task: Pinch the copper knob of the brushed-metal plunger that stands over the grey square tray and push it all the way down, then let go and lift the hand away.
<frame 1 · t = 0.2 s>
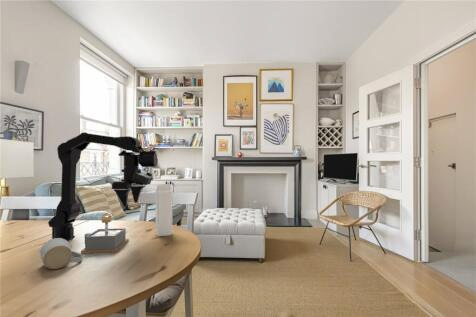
hand: (130, 204, 102), 14 cm above the table, fingers open, 9 cm apart
milk: (163, 234, 109), on the table
grey square tray: (106, 247, 92), on the table
ceramic mug: (61, 265, 77), on the table
plunger: (106, 225, 92), point 8 cm above the table, slide at 0.0 cm
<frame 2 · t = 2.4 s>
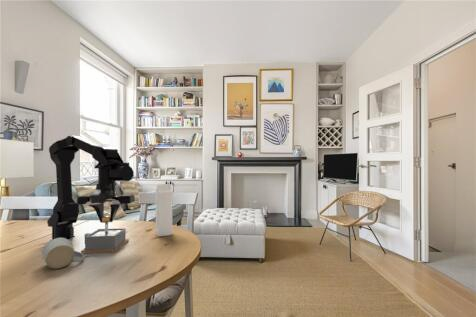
hand: (106, 222, 92), 9 cm above the table, fingers closed on plunger, 3 cm apart
plunger: (106, 225, 92), point 8 cm above the table, slide at 0.0 cm, touching gripper
everything else where it was.
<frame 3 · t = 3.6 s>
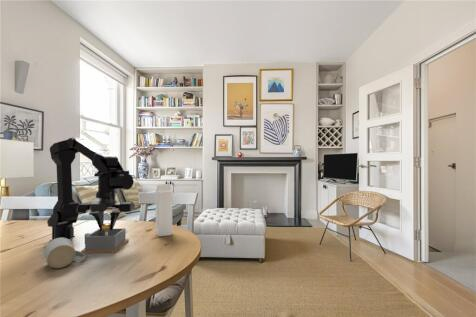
hand: (106, 230, 92), 6 cm above the table, fingers closed on plunger, 3 cm apart
plunger: (106, 233, 92), point 5 cm above the table, slide at 3.0 cm, touching gripper
everything else where it was.
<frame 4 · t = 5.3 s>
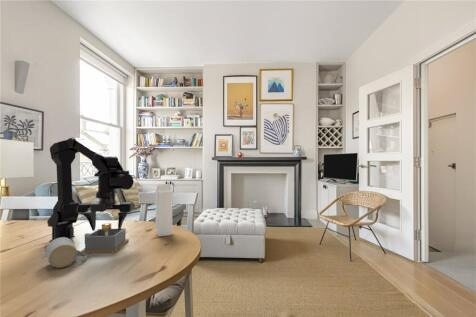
hand: (106, 230, 92), 6 cm above the table, fingers open, 9 cm apart
plunger: (106, 233, 92), point 5 cm above the table, slide at 3.0 cm
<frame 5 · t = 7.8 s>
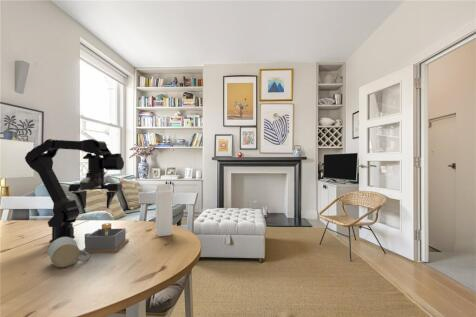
hand: (96, 208, 100), 13 cm above the table, fingers open, 9 cm apart
at the end: plunger slide at 3.0 cm; the gripper is holding nothing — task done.
